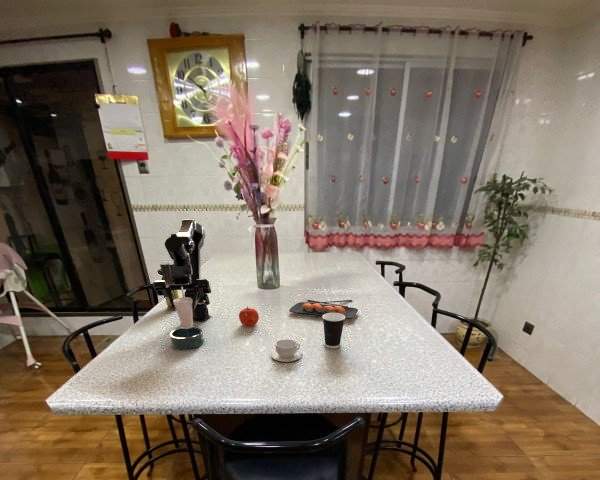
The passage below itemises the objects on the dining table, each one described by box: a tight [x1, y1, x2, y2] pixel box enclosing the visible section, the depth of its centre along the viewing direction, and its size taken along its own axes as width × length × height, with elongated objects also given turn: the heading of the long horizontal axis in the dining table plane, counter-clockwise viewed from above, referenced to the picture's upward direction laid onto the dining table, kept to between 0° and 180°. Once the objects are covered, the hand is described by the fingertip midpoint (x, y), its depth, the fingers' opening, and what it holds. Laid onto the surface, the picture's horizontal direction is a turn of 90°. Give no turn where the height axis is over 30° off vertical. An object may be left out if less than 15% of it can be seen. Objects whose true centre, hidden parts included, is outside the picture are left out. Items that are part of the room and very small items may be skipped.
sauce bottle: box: [159, 262, 181, 311], centre depth 162 cm, size 6×6×20 cm
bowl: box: [169, 326, 205, 351], centre depth 130 cm, size 11×11×4 cm
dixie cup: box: [321, 313, 346, 350], centre depth 126 cm, size 8×8×11 cm
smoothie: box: [173, 287, 194, 329], centre depth 124 cm, size 6×6×14 cm
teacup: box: [271, 338, 302, 363], centre depth 121 cm, size 10×10×5 cm
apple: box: [238, 306, 260, 328], centre depth 145 cm, size 8×8×8 cm
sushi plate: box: [289, 299, 359, 320], centre depth 164 cm, size 29×30×4 cm
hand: (183, 309), depth 124 cm, fingers closed on smoothie, 6 cm apart
